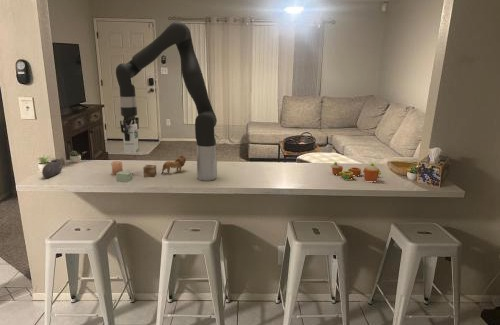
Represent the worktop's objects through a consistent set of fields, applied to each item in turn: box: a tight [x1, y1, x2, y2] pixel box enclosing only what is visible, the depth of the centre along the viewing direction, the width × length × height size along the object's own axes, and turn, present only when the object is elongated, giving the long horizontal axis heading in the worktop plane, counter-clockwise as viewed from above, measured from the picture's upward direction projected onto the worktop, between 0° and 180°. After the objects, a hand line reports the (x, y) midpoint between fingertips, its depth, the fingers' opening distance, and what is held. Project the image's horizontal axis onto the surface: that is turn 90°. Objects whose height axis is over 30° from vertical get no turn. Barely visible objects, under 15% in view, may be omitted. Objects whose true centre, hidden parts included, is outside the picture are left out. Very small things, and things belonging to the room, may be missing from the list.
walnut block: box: [142, 164, 157, 178], centre depth 181 cm, size 5×5×5 cm
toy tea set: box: [330, 161, 382, 182], centre depth 186 cm, size 26×16×10 cm, turn 78°
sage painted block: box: [115, 170, 133, 183], centre depth 172 cm, size 6×4×4 cm, turn 80°
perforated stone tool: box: [41, 158, 63, 179], centre depth 177 cm, size 15×5×7 cm, turn 179°
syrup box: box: [122, 124, 140, 155], centre depth 178 cm, size 6×6×14 cm
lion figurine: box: [160, 154, 187, 175], centre depth 186 cm, size 15×5×9 cm, turn 132°
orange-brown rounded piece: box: [111, 160, 124, 176], centre depth 182 cm, size 5×5×6 cm
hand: (131, 139), depth 178 cm, fingers closed on syrup box, 6 cm apart
